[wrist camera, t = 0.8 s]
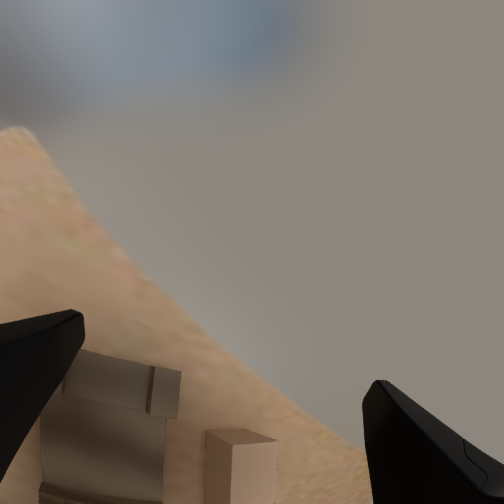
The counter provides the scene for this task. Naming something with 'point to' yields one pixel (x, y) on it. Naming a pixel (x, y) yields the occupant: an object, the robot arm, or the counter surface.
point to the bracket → (107, 432)
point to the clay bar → (240, 467)
